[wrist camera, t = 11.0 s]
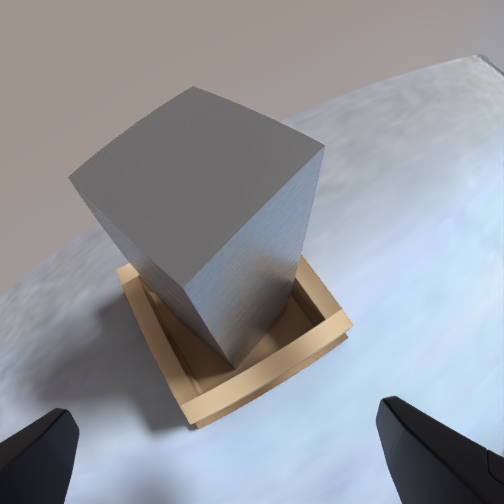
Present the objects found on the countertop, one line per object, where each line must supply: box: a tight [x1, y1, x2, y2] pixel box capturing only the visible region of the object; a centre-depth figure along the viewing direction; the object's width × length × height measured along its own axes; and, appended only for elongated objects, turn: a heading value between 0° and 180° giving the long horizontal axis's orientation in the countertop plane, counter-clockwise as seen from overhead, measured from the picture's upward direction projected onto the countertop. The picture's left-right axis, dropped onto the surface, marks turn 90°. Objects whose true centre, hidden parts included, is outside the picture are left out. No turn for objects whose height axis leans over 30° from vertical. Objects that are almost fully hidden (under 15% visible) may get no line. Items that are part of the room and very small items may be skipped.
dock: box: [116, 255, 354, 429], centre depth 16 cm, size 10×10×3 cm
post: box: [68, 87, 325, 370], centre depth 12 cm, size 4×4×12 cm
